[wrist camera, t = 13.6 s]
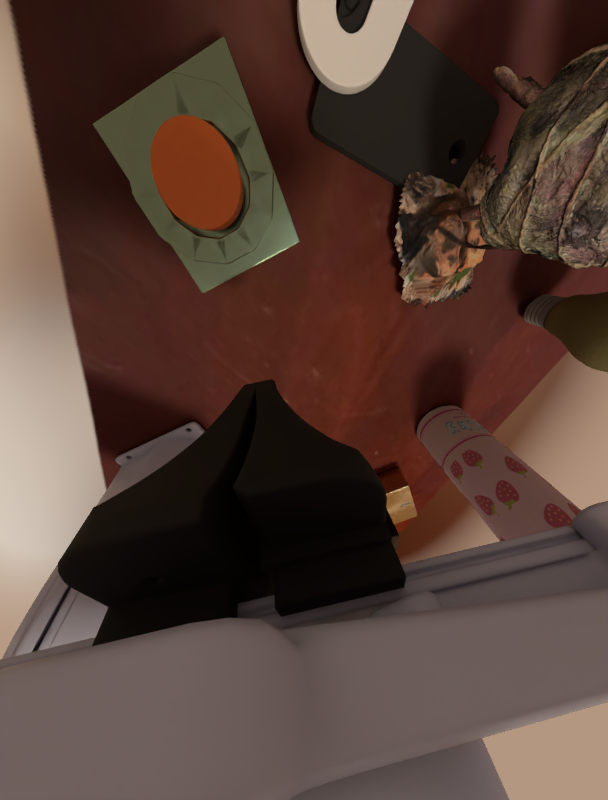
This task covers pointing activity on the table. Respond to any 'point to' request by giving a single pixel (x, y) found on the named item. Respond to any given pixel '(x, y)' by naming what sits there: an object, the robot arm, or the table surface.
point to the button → (196, 173)
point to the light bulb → (575, 324)
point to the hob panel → (397, 496)
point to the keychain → (406, 111)
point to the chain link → (349, 42)
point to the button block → (233, 118)
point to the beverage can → (493, 476)
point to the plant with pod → (517, 189)
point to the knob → (392, 530)
